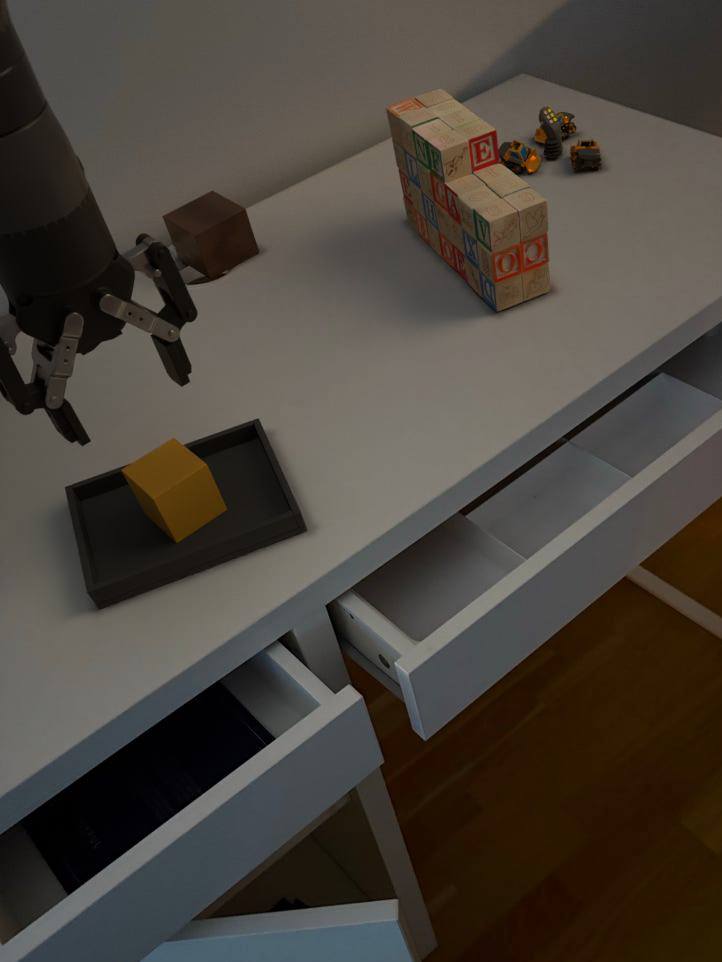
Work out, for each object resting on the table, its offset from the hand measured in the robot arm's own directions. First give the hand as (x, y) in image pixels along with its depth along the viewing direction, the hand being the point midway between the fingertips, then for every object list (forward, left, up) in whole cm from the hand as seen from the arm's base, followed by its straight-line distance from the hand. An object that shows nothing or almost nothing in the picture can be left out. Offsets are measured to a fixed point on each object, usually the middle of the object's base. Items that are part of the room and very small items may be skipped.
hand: (131, 409), depth 69 cm
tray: (0, 0, -11) cm, 11 cm away
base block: (+12, +39, -11) cm, 42 cm away
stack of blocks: (+36, +23, -11) cm, 44 cm away
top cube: (0, 0, -11) cm, 11 cm away
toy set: (+52, +36, -11) cm, 64 cm away
